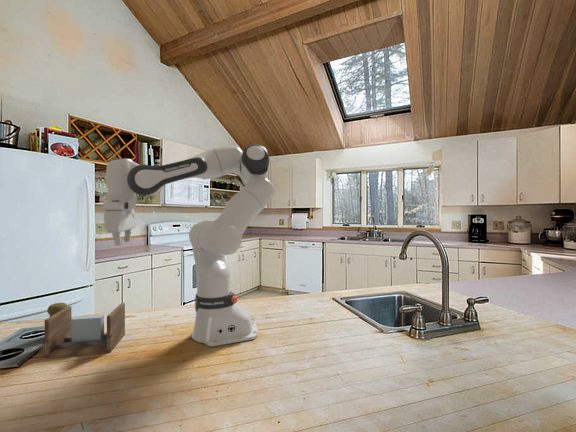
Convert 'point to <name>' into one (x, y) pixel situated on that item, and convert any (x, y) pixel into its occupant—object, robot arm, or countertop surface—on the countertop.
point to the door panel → (87, 328)
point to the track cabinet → (62, 345)
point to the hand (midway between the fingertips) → (122, 243)
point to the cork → (56, 308)
